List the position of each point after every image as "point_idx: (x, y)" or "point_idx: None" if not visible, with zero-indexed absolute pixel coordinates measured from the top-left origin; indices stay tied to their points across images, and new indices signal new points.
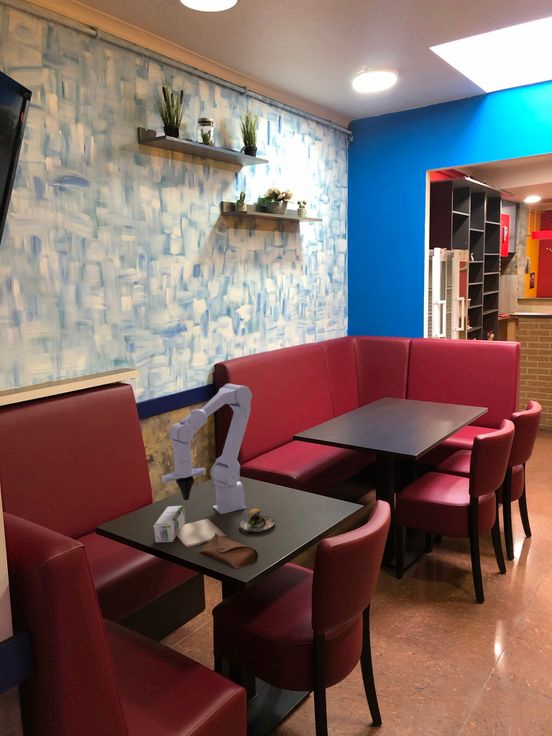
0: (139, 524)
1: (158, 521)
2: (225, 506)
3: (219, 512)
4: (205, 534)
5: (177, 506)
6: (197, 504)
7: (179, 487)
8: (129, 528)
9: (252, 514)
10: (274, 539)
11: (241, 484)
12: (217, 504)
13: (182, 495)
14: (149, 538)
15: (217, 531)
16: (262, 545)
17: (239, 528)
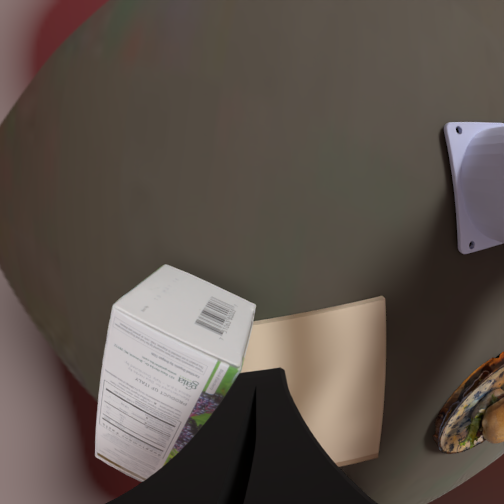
0: (41, 205)
1: (103, 445)
2: (499, 241)
3: (458, 233)
4: (317, 440)
5: (188, 359)
6: (363, 34)
7: (171, 473)
8: (17, 235)
9: (491, 442)
10: (459, 462)
11: None
12: (479, 193)
13: (228, 396)
14: (95, 368)
15: (367, 431)
16: (422, 483)
17: (444, 406)
